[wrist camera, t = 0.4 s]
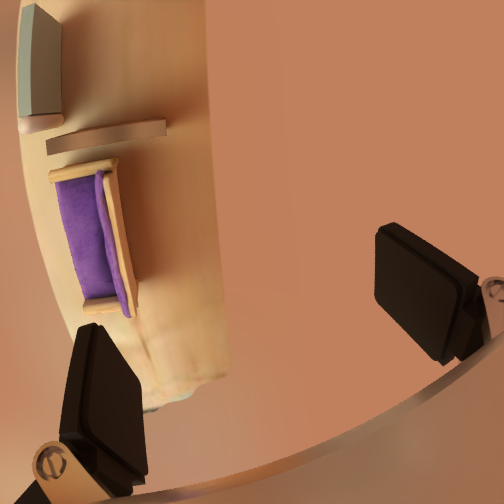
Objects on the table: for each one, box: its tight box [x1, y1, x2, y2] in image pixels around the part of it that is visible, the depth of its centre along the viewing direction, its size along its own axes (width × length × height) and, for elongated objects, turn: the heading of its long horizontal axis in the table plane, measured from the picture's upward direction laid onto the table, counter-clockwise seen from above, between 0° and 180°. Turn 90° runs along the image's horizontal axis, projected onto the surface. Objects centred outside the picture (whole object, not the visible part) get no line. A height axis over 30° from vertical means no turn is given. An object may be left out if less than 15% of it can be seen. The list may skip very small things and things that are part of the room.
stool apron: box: [46, 118, 167, 156], centre depth 31 cm, size 12×2×12 cm, turn 90°
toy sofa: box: [48, 157, 139, 318], centre depth 37 cm, size 21×9×10 cm, turn 1°
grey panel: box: [18, 3, 64, 135], centre depth 25 cm, size 2×15×11 cm, turn 1°
